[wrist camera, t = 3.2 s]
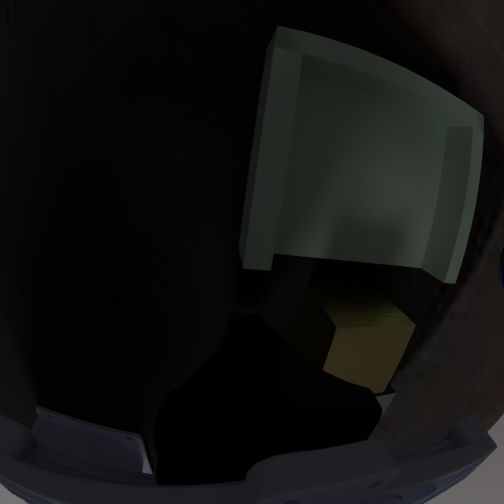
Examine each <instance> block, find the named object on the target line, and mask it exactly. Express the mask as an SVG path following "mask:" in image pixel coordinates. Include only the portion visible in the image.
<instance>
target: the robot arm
mask: <svg viewBox="0 0 504 504" xmlns="http://www.w3.org/2000/svg"><path fill="white" fill-rule="evenodd" d="M36 411H37V413H38V415H39V416H38V418H37V420H36V422H35V424H34V426H33V428H32V430H31V431H30V430H29V429H28V428H27V427H26V426H24V425H23V424H21V423H19V422H17V421H15V420H13V419H11V418H9V417H7V416H5V415H2V414H1V415H0V483H1V484H2V485H3V486H4V487H5V488H6V489H8V490H9V491H10V492H11V493H13V494H14V495H16V496H18V497H19V498H21V499H23V500H24V501H25V502H27V503H28V504H424V503H426V502H427V501H429V500H431V499H432V498H434V497H436V496H438V495H439V494H441V493H443V492H444V491H446V490H448V489H449V488H451V487H452V486H454V485H455V484H457V483H458V482H460V481H462V480H463V479H465V478H466V477H467V476H468V475H469V474H470V473H471V472H473V471H474V470H475V469H476V468H477V467H478V466H479V465H480V464H481V463H482V462H483V461H484V460H485V459H486V458H487V457H488V456H489V455H490V454H491V453H492V452H493V451H494V450H495V449H496V448H497V445H496V444H495V442H494V441H493V440H492V438H491V437H490V436H489V434H488V433H487V432H486V431H485V429H484V428H483V427H482V425H481V424H480V423H479V422H478V420H477V419H476V418H475V417H474V415H469V416H467V417H465V418H463V419H461V420H459V421H458V422H456V423H455V424H454V425H453V426H452V427H451V429H450V430H449V431H448V433H447V434H446V435H444V436H441V437H439V438H437V439H435V440H432V441H430V442H428V443H425V444H423V445H420V446H418V447H415V448H412V449H410V450H407V451H404V452H401V453H398V454H395V455H393V454H392V452H391V450H390V449H389V447H388V445H387V443H386V442H385V441H383V440H382V439H373V440H369V439H368V437H369V435H370V434H371V433H372V431H373V430H374V428H375V427H376V425H377V424H378V422H379V420H380V418H381V416H382V407H381V405H380V403H379V402H378V400H377V398H376V397H375V395H374V393H373V392H372V390H371V389H370V388H366V387H363V386H360V385H357V384H354V383H350V382H348V381H345V380H343V379H340V378H338V377H336V376H334V375H331V374H329V373H327V372H326V371H324V370H322V369H320V368H318V367H317V366H315V365H313V364H312V363H310V362H309V361H307V360H306V359H304V358H303V357H302V356H300V355H299V354H298V353H296V352H295V351H294V350H293V349H292V348H291V347H289V346H288V345H287V344H286V343H285V342H284V341H283V340H282V339H281V338H280V337H279V336H278V335H277V334H276V333H275V332H274V331H273V330H272V329H271V327H270V326H269V325H268V324H267V323H266V322H265V321H264V319H263V318H262V317H261V316H260V315H256V314H240V313H231V314H230V315H229V320H228V326H227V329H226V331H225V334H224V336H223V338H222V340H221V342H220V343H219V345H218V347H217V348H216V350H215V351H214V353H213V354H212V356H211V357H210V358H209V359H208V361H207V362H206V363H205V364H204V365H203V366H202V367H201V368H200V369H199V370H198V371H197V372H196V373H195V374H194V375H193V376H192V377H191V378H189V379H188V380H187V381H186V382H184V383H183V384H182V385H180V386H179V387H177V388H175V389H174V390H172V391H171V392H169V393H168V395H167V396H166V398H165V400H164V402H163V403H162V405H161V407H160V410H159V412H158V415H157V417H156V421H155V426H154V432H153V440H154V444H155V449H156V453H157V456H158V463H157V472H156V475H155V474H154V473H153V470H152V467H151V464H150V461H149V458H148V455H147V451H146V448H145V445H144V441H143V437H142V436H141V435H140V434H138V433H134V432H129V431H124V430H119V429H115V428H110V427H106V426H102V425H98V424H94V423H91V422H87V421H83V420H80V419H77V418H73V417H70V416H67V415H64V414H61V413H58V412H55V411H52V410H50V409H47V408H44V407H42V406H37V408H36Z"/></svg>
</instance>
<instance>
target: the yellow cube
mask: <svg viewBox="0 0 504 504" xmlns="http://www.w3.org/2000/svg"><path fill="white" fill-rule="evenodd" d="M414 328H415V324H414V323H413V322H412V321H411V320H410V319H409V318H408V317H407V316H406V315H405V314H404V313H403V312H402V311H400V310H399V309H398V308H397V307H396V306H395V305H394V304H393V303H392V302H391V301H390V300H388V299H387V298H386V297H385V296H384V295H383V294H382V293H381V292H380V291H379V290H377V289H376V288H371V287H351V286H333V285H316V284H307V287H306V292H305V296H304V300H303V305H302V309H301V313H300V317H299V321H298V325H297V329H296V333H295V337H294V341H293V345H292V349H293V350H294V351H295V352H296V353H298V354H299V355H300V356H302V357H303V358H304V359H306V360H307V361H309V362H310V363H312V364H313V365H315V366H317V367H318V368H320V369H322V370H324V371H326V372H327V373H329V374H331V375H334V376H336V377H338V378H340V379H343V380H345V381H348V382H350V383H354V384H357V385H360V386H363V387H366V388H370V389H371V390H372V392H373V393H374V394H375V393H381V392H384V390H385V388H386V387H387V385H388V383H389V381H390V379H391V377H392V375H393V373H394V371H395V369H396V367H397V365H398V363H399V361H400V359H401V357H402V355H403V353H404V351H405V348H406V346H407V344H408V342H409V340H410V337H411V335H412V333H413V330H414Z"/></svg>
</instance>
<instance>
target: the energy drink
mask: <svg viewBox="0 0 504 504" xmlns="http://www.w3.org/2000/svg"><path fill="white" fill-rule="evenodd" d="M500 280H501V284H502V286H503V288H504V252H503V256H502V259H501V265H500Z"/></svg>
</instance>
